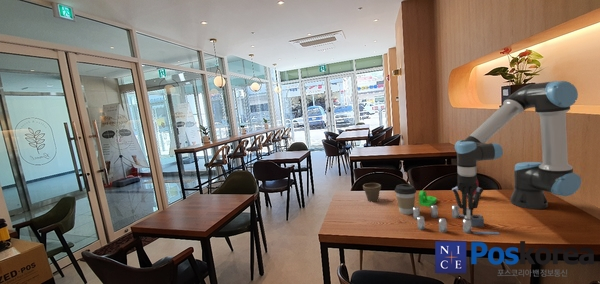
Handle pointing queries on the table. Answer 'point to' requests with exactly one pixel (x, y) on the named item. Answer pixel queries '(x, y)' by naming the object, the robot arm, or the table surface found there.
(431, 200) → the mechanical part
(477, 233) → the blue-grey flat plate
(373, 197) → the flower pot
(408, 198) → the coffee cup
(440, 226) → the spacers
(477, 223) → the speaker
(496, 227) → the table surface
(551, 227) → the table surface
